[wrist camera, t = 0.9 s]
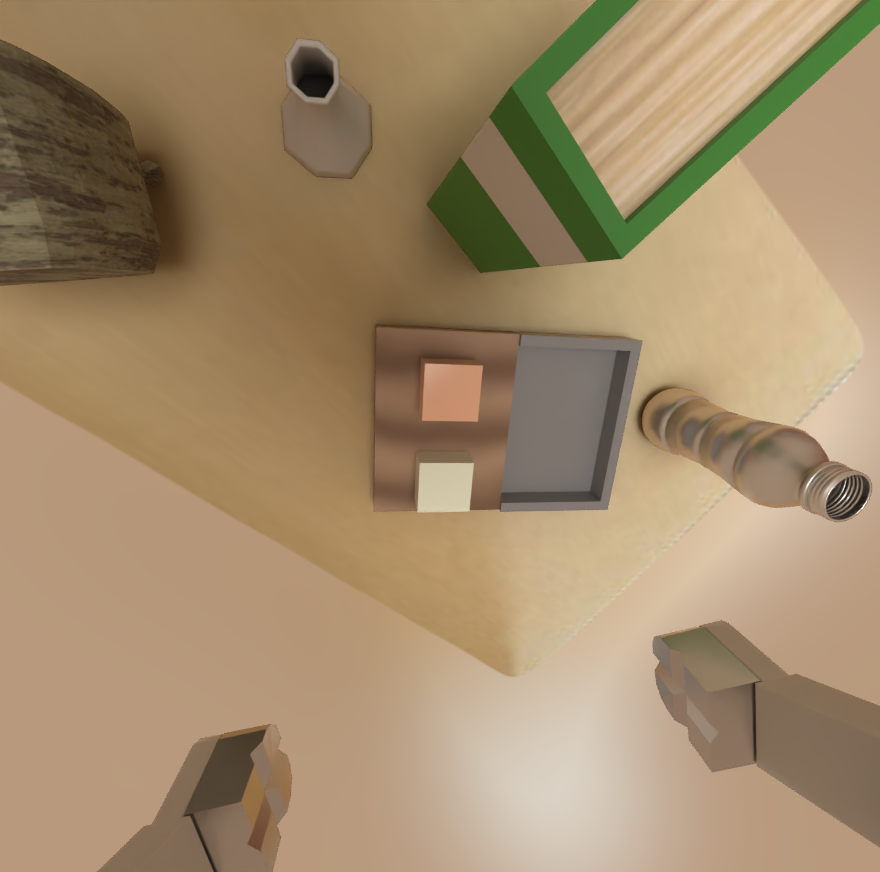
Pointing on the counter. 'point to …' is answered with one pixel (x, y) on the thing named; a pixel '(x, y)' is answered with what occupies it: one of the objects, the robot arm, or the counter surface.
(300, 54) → the flask
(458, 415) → the orange square block
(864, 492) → the plastic bottle
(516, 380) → the tray
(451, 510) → the cream block
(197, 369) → the counter surface
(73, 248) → the tabletop clock
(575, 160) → the hardback book
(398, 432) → the walnut board
